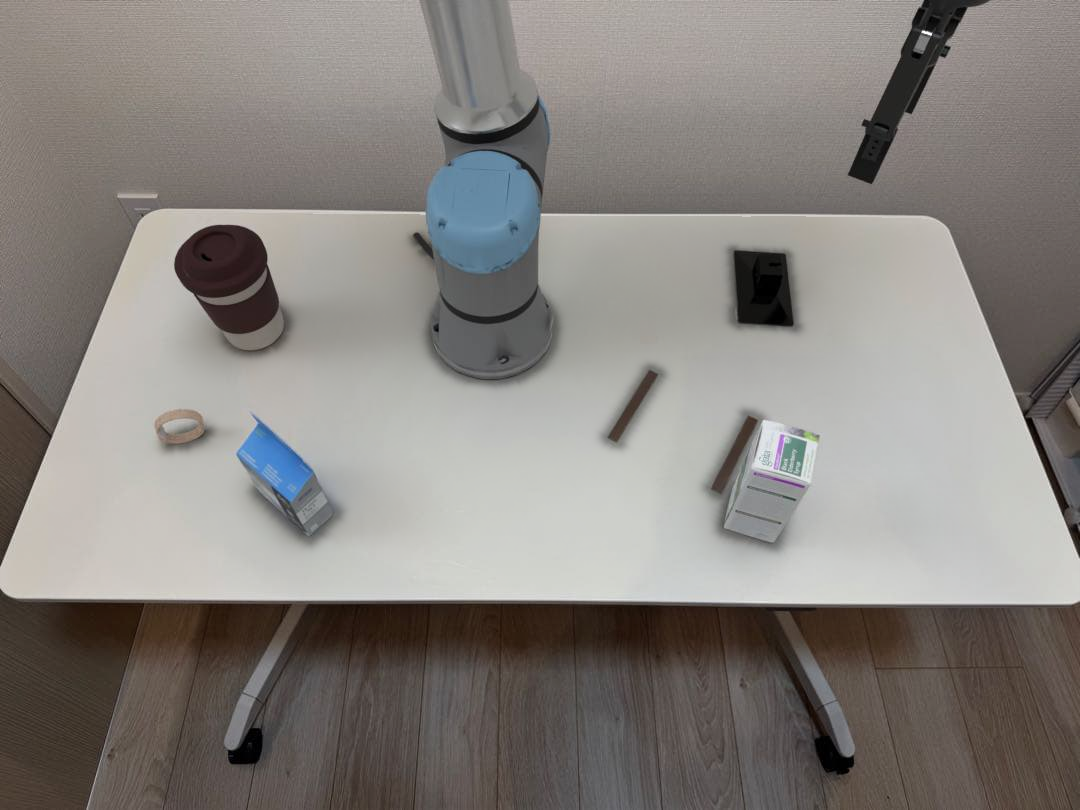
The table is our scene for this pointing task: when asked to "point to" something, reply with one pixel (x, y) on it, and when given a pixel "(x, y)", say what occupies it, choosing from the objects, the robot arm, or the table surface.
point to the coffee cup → (232, 283)
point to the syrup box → (771, 480)
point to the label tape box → (284, 478)
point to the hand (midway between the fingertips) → (881, 142)
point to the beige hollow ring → (171, 415)
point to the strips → (731, 457)
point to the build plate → (762, 288)
